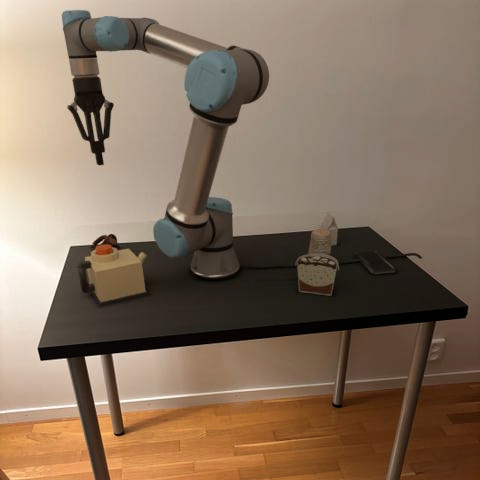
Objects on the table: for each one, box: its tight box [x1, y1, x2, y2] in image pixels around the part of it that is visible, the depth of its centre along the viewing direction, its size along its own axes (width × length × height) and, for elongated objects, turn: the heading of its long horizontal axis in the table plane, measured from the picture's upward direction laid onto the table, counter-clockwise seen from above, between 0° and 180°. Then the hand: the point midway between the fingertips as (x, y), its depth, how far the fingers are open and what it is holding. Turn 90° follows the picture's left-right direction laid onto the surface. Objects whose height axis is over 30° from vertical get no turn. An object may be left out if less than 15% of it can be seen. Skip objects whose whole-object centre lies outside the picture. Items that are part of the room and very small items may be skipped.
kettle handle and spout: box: [76, 251, 149, 307], centre depth 142 cm, size 20×13×11 cm, turn 119°
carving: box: [307, 228, 332, 256], centre depth 155 cm, size 6×8×12 cm
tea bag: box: [320, 211, 339, 246], centre depth 174 cm, size 4×7×10 cm, turn 12°
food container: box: [294, 253, 340, 297], centre depth 141 cm, size 12×6×10 cm, turn 71°
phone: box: [355, 251, 397, 275], centre depth 158 cm, size 8×1×15 cm
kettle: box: [84, 247, 147, 302], centre depth 142 cm, size 13×12×12 cm
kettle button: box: [96, 244, 112, 255], centre depth 140 cm, size 4×4×2 cm
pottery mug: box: [89, 233, 122, 252], centre depth 169 cm, size 12×10×8 cm
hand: (100, 164), depth 148 cm, fingers closed
